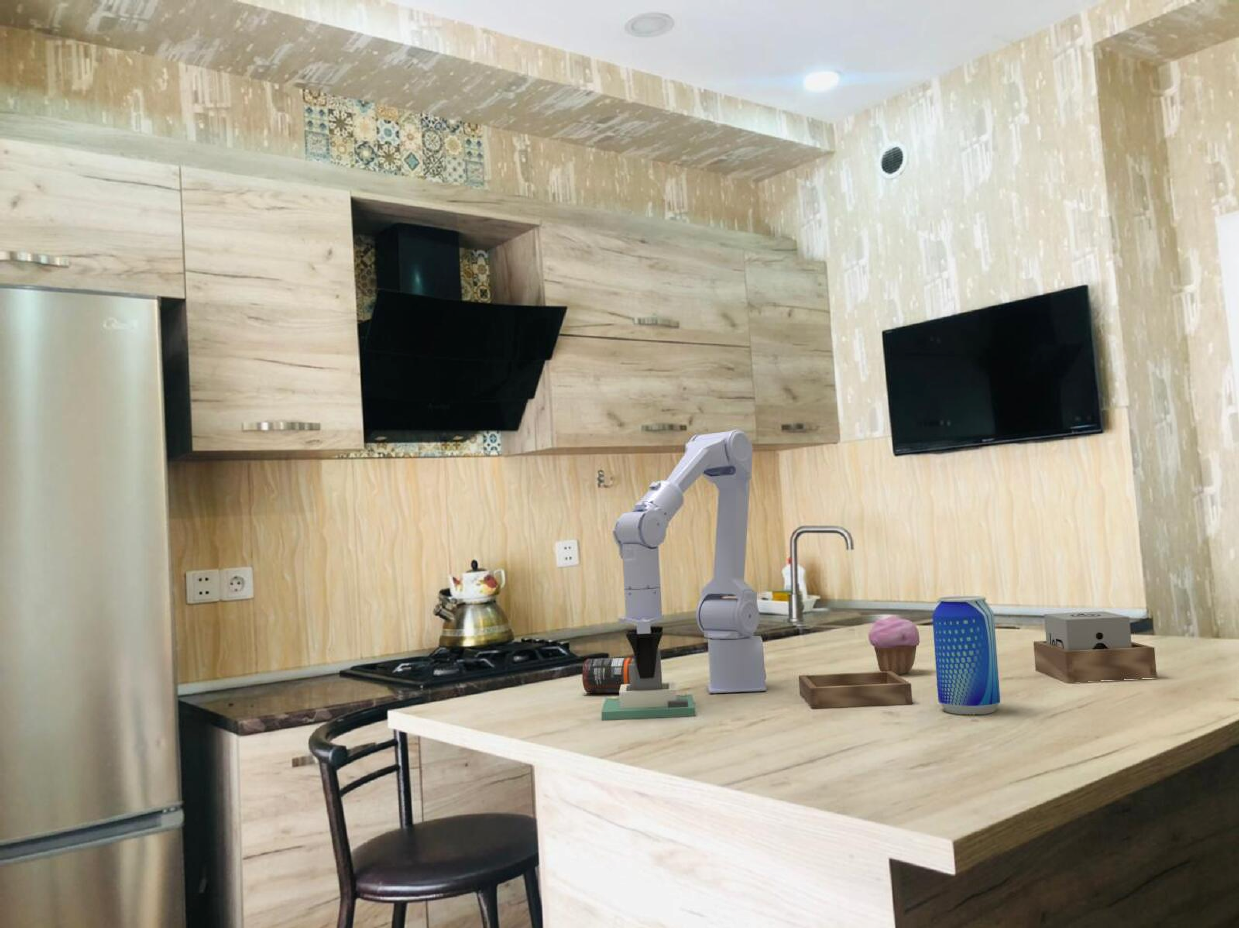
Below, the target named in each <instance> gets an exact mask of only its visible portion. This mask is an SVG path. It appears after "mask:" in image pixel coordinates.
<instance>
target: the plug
mask: <svg viewBox="0 0 1239 928" xmlns="http://www.w3.org/2000/svg"><path fill="white" fill-rule="evenodd" d="M633 657H634V658H633V659H634V660H635V655H634V654H633ZM661 658H662V657H661V648H659V647H658V649H657V655H656V665H655V673H654V678H644V679H640V676H639V673H638V669H637V664H636V660H635V664H629V678H630V691H641V690H663V686H662V683H663V674H662V659H661Z"/></svg>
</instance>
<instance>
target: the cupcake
mask: <svg viewBox="0 0 1239 928" xmlns="http://www.w3.org/2000/svg"><path fill="white" fill-rule="evenodd" d="M868 640H869V642H870V643H869V644H870V645H871V646H872V647H874V652H875V656H876V662H877V665H878V669H879V672H883V671H892V672H893V673H895V674H897V675H898V676H902V675H906V674H909V673H910V672H911V671H912V669H913V666H914V664H915V660H916V653H917V647H918V646H919V645H920V634H919V630H918V628H917V626H916V624H914V622H912V621H911V620H909V619H905V618H898V617H894V616H890V617H889V616H888V617H886V618H884V619H878V620H876V621H875V622H874V624H873V625H872V627H871V628H870V630H869V631H868ZM901 674H902V675H901Z"/></svg>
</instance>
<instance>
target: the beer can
mask: <svg viewBox="0 0 1239 928" xmlns="http://www.w3.org/2000/svg"><path fill="white" fill-rule="evenodd" d="M986 600H987V598H986V597H985V596H981V595H953V596H951V595H950V596H942V597H938V598H937V601H938V602H937V605H936V607H935V608H934V610H933V612H932V617H931V618H932V627H933V628H932V629H933V632H932V633H933V643H934V646H933V647H934V658H935V659H934V661H935V670H936V671H935V673H936V674H935V675H936V686H937V687H936V688H937V701H938V703H939V704H940V705H941V707H942V708H943V710H944V711H945V712H946V711H947V712H946V713H949V714H954V715H962V714H965V715H966V714H967V715H966V716H968V714H969V716H970V715H971V714H972V715H971V716H976V715H975V714H980V715H987V714H992V713H994V712H995V711H996V709H997V707H998V706H999V704H1000V703H1001V695H1000V694H1001V693H1000V692H1001V691H1000V681H999V680H1000V679H999V665H998V654H997V653H998V652H997V637H996V626H995V614H994V611H993V610H992V608H991V607H990V605H989V604H988V603H987V601H986ZM965 715H964V716H965Z"/></svg>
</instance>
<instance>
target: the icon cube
mask: <svg viewBox="0 0 1239 928" xmlns="http://www.w3.org/2000/svg"><path fill="white" fill-rule="evenodd" d="M1043 615H1044V616H1043V617H1044V628H1045V631H1044V632H1045V641H1046V643H1047V644H1050V645H1053V646H1056V647H1059V648H1062V649H1066V650H1069V651H1073V650H1094V649H1115V648H1132V644H1131V642H1132V634H1131V632H1132V631H1131V623H1130V620H1131V619H1130V616H1126V615H1122V614H1119V613H1118V614H1117V613H1113V612H1107V611H1104V610H1103V611H1084V612H1061V613H1060V612H1059V613H1043Z"/></svg>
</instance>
